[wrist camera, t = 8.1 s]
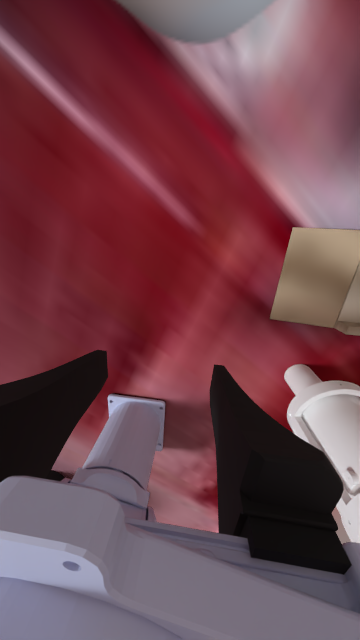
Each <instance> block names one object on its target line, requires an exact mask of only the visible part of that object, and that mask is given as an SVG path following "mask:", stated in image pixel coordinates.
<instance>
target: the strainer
mask: <svg viewBox="0 0 360 640" xmlns="http://www.w3.org/2000/svg"><path fill="white" fill-rule="evenodd" d="M284 378H285V381H286V382H287V384H288V385H289V386H290V388H291V389H292V391H293V392H294V394H295V395H296V396H295V397H294V399H293V400H292V401H291V403H290V405H289V407H288V411H287V419H288V422H289V424H290V426H291V428H292V430H293V432H294V434H295V435H296V436H298V437H299V438H301V439H303V440H304V441H306V442H308V443H309V444H311V445H313V446H314V447H316V448H318V449H319V450H321V451H323V452H324V454H325V455H326V456H327V458H328V459H329V461H330V462H331V464H332V465H333V467H334V469H335V470H336V472H337V473H338V475H339V477H340V478H341V480H342V482H343V488H344V490H343V493H342V496H341V498H340V500H339V502H338V503H337V505H336V507H337V509H338V511H339V513H340V514H341V516H342V523H343V526H344V529H345V531H346V533H347V534H348V536H349V538H350V540H351V542H355V543H360V398H359V397H360V386H358V385H356V384H353V383H350V382H346V381H325V382H322V381H321V380H320V379H319V378H318V377H317V375H316V374H315V373H314V372H313V371H312V370H311V369H310V368H309V367H308V366H306V365H303V364H297V365H293V366H291V367H290V368H288V369H287V370H286V372H285V375H284ZM358 396H359V397H358ZM351 498H352V499H351Z"/></svg>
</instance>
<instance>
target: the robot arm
mask: <svg viewBox="0 0 360 640" xmlns="http://www.w3.org/2000/svg"><path fill="white" fill-rule="evenodd" d="M107 377H108V369H107V352H106V351H102V350H96V351H93V352H91V353H89V354H86V355H84V356H82V357H80V358H77V359H75V360H73V361H71V362H68V363H66V364H64V365H61V366H59V367H56V368H54V369H52V370H49V371H46V372H43V373H41V374H38V375H35V376H31V377H28V378H25V379H21V380H17V381H14V382H10V383H6V384H2V385H0V640H360V543H355V542H347V543H343V544H341V542H340V540H339V538H338V536H337V534H336V532H335V531H337V530H338V526H337V524H336V521H335V520H334V518H333V516H332V514H331V513H332V511H333V510H334V508H335V506H336V505H337V503H338V502H339V500H340V498H341V496H342V493H343V490H344V488H343V482H342V480H341V478H340V477H339V475H338V473H337V472H336V470H335V469H334V467H333V465H332V464H331V462H330V461H329V459H328V458H327V456H326V455H325V454H324V452H323V451H321V450H319V449H318V448H316V447H314V446H313V445H311V444H309V443H308V442H306V441H304V440H303V439H301V438H299V437H298V436H296V435H295V434H293V433H292V432H291V431H289V430H288V429H286V428H285V427H283V426H282V425H281V424H279V423H278V422H277V421H275V420H274V419H273V418H272V417H270V416H269V415H268V414H267V413H266V412H264V411H263V410H262V409H261V408H260V407H259V406H258V405H257V404H256V403H254V402H253V401H252V400H251V399H250V398H249V396H248V395H247V394H246V393H245V392H244V391H243V390H242V389H241V388H240V386H239V385H238V384H237V383H236V381H235V380H234V379H233V378H232V376H231V375H230V373H229V372H228V371H227V369H226V368H225V367H224V366H222V365H214V369H213V375H212V381H211V386H210V408H211V415H212V422H213V429H214V436H215V444H216V460H217V483H218V519H219V533H215V532H209V531H204V530H198V529H192V528H187V527H181V526H176V525H170V524H164V523H159V522H157V521H156V517H155V514H154V509H153V508H152V507H148V506H147V505H148V500H149V495H150V492H148V491H147V487H148V482H149V478H150V473H151V469H152V464H153V460H154V455H155V451H162V449H163V436H164V418H165V402H164V401H161V400H154V399H146V398H138V397H131V396H123V395H115V394H110V395H109V396H108V407H109V419H108V421H107V423H106V425H105V427H104V428H103V430H102V432H101V434H100V436H99V438H98V440H97V441H96V443H95V445H94V447H93V449H92V451H91V452H90V454H89V456H88V458H87V460H86V462H85V463H84V465H83V467H82V468H78V469H77V471H76V473H75V475H74V476H73V478H72V480H71V479H68V478H64V479H63V480H62V481H54V480H48V479H46V478H47V476H48V474H49V473H50V471H51V469H52V467H53V465H54V463H55V461H56V459H57V457H58V456H59V454H60V452H61V450H62V448H63V446H64V445H65V443H66V441H67V439H68V438H69V436H70V434H71V433H72V431H73V429H74V427H75V426H76V424H77V423H78V421H79V420H80V418H81V417H82V416H83V414H84V413H85V411H86V410H87V409H88V407H89V406H90V405H91V403H92V402H93V400H94V399H95V398H96V396H97V395H98V393H99V392H100V390H101V389H102V387H103V385H104V383H105V381H106V379H107Z"/></svg>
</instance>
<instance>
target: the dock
mask: <svg viewBox="0 0 360 640" xmlns="http://www.w3.org/2000/svg"><path fill="white" fill-rule="evenodd" d="M270 319H274V320H281V321H288V322H295V323H302V324H309V325H316V326H323V327H330V328H335V329H337V330H339V331H341V332H343V333H344V334H349V335H359V336H360V230H343V229H319V228H295V227H293V229H292V233H291V237H290V241H289V245H288V248H287V252H286V256H285V260H284V264H283V268H282V272H281V276H280V280H279V284H278V288H277V292H276V295H275V299H274V303H273V307H272V311H271V315H270Z"/></svg>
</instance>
